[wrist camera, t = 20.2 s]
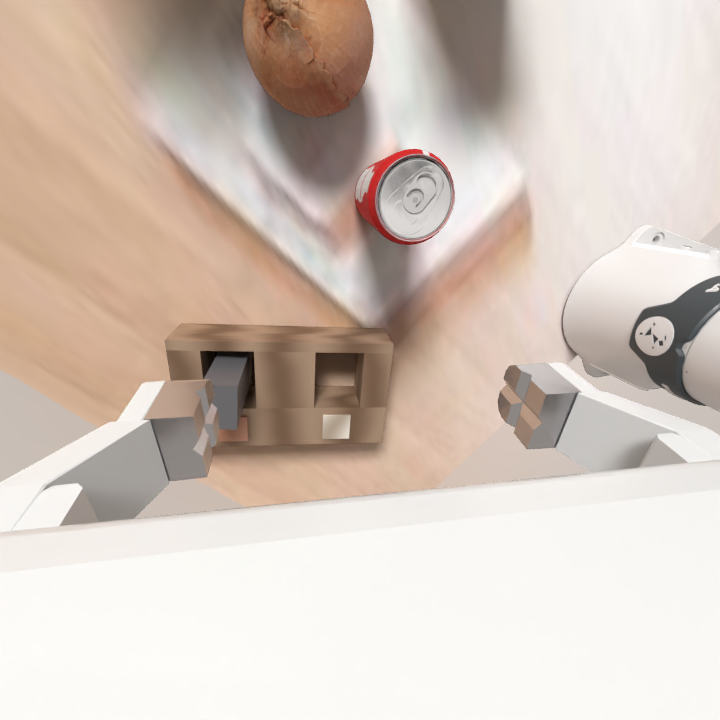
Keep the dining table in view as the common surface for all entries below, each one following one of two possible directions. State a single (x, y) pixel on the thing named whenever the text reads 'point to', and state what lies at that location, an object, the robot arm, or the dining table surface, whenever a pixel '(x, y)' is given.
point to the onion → (309, 51)
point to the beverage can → (406, 196)
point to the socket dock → (293, 381)
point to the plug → (230, 385)
